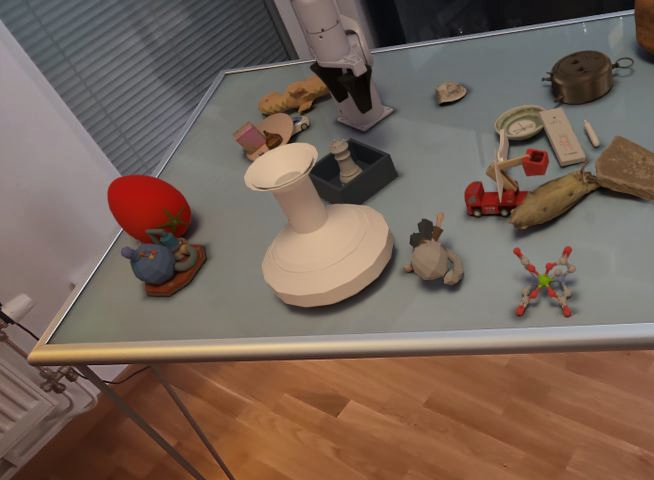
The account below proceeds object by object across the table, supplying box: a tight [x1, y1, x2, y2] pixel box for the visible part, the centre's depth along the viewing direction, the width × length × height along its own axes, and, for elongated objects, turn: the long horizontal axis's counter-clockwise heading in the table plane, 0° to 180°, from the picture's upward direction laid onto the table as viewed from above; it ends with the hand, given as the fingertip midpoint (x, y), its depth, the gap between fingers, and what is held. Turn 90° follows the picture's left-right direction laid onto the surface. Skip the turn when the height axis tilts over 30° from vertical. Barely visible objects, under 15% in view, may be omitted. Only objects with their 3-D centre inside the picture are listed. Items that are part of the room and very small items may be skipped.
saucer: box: [493, 104, 547, 141], centre depth 107 cm, size 10×10×2 cm
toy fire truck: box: [463, 147, 550, 218], centre depth 91 cm, size 3×14×10 cm, turn 75°
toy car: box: [291, 115, 310, 137], centre depth 125 cm, size 4×12×3 cm, turn 125°
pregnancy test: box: [539, 106, 600, 167], centre depth 101 cm, size 8×12×1 cm, turn 14°
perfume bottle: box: [232, 112, 293, 163], centre depth 122 cm, size 12×12×4 cm
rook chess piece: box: [329, 137, 363, 186], centre depth 106 cm, size 4×4×8 cm
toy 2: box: [403, 211, 464, 286], centre depth 89 cm, size 10×8×15 cm
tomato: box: [106, 174, 192, 246], centre depth 107 cm, size 13×11×14 cm
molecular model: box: [512, 245, 577, 317], centre depth 79 cm, size 7×8×8 cm
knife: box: [494, 129, 510, 203], centre depth 93 cm, size 26×4×1 cm
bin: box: [308, 137, 399, 205], centre depth 107 cm, size 11×11×4 cm
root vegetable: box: [507, 159, 602, 230], centre depth 91 cm, size 5×20×5 cm
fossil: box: [434, 81, 467, 105], centre depth 121 cm, size 8×4×6 cm
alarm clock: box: [540, 49, 635, 105], centre depth 111 cm, size 11×5×16 cm
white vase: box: [243, 142, 395, 308], centre depth 88 cm, size 20×20×19 cm
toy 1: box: [257, 74, 331, 116], centre depth 132 cm, size 5×12×20 cm
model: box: [120, 229, 207, 297], centre depth 101 cm, size 12×9×9 cm
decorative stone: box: [594, 135, 654, 202], centre depth 90 cm, size 10×6×15 cm
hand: (354, 105), depth 107 cm, fingers open, 7 cm apart
